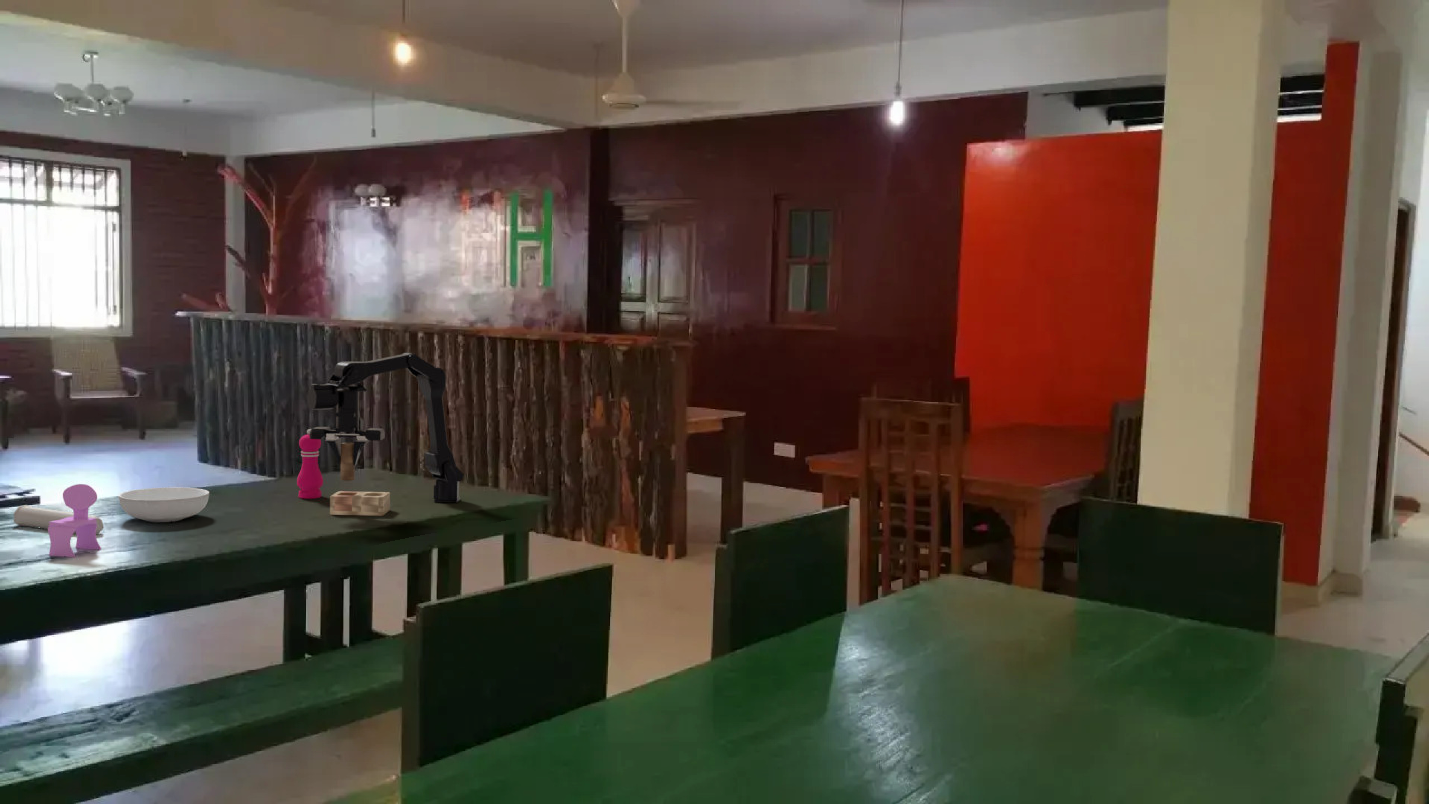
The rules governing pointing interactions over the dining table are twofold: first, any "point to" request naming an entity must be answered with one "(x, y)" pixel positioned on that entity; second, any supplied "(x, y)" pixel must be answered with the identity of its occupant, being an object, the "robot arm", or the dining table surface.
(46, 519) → the tube
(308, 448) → the pepper mill
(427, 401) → the robot arm
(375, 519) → the dining table surface
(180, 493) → the serving bowl
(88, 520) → the toy chair
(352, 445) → the dowel
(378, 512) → the bore block
